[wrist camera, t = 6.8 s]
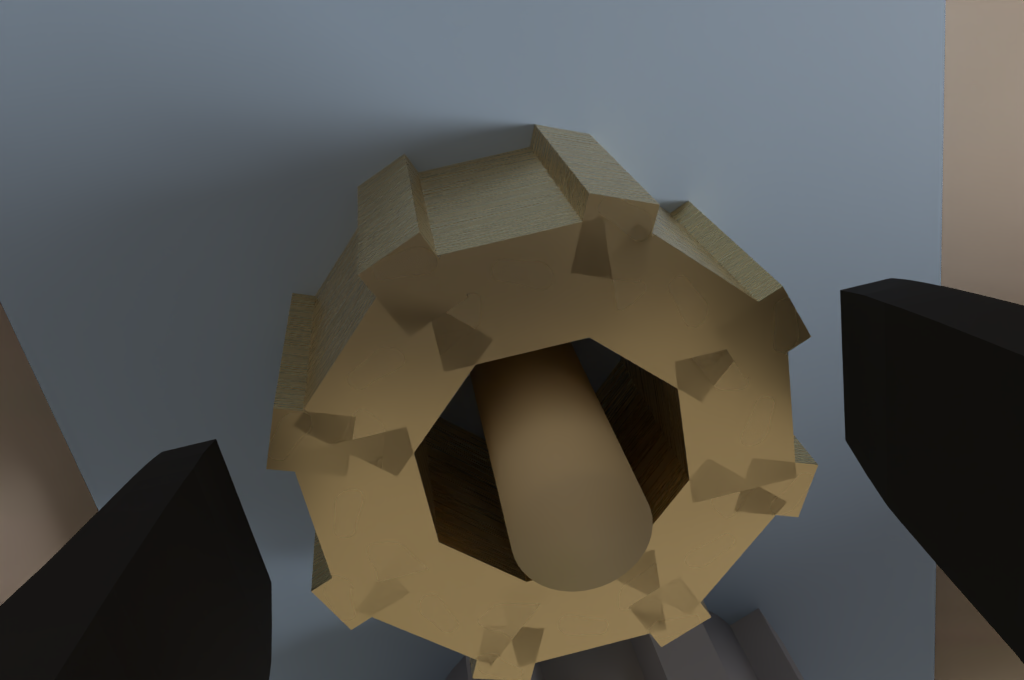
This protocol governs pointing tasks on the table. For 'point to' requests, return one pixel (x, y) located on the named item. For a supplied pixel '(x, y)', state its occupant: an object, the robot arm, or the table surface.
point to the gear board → (499, 383)
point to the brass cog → (515, 330)
